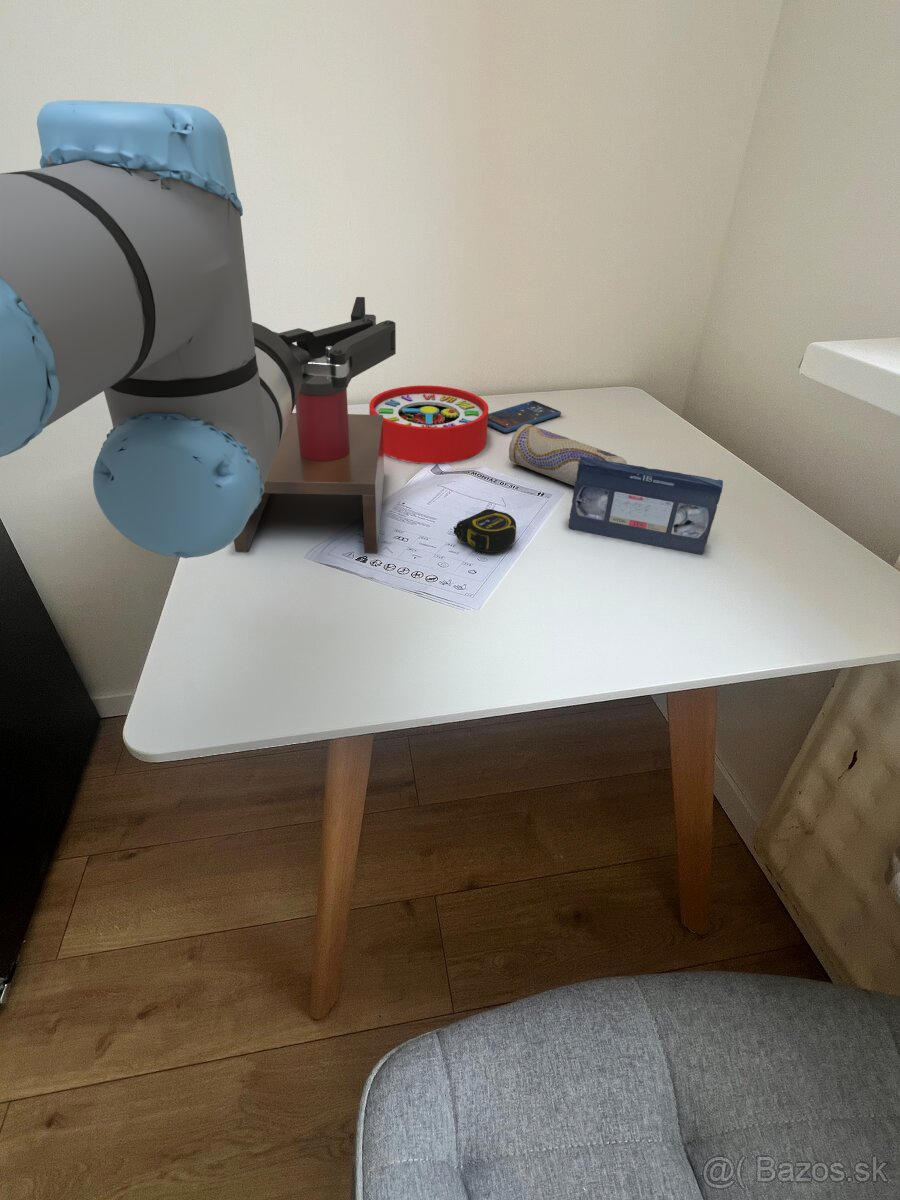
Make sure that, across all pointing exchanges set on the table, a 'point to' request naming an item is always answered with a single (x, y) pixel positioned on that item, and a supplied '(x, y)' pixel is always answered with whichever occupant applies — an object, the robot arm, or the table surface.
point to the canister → (322, 420)
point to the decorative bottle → (553, 453)
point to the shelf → (329, 475)
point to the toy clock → (431, 423)
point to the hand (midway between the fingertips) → (285, 310)
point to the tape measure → (487, 531)
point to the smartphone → (520, 416)
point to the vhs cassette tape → (644, 504)
